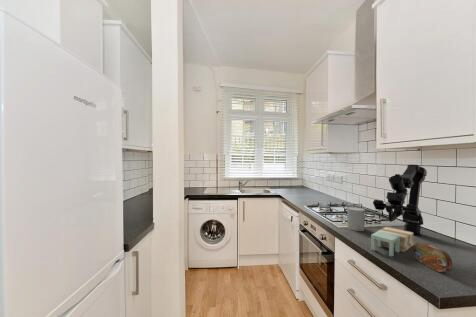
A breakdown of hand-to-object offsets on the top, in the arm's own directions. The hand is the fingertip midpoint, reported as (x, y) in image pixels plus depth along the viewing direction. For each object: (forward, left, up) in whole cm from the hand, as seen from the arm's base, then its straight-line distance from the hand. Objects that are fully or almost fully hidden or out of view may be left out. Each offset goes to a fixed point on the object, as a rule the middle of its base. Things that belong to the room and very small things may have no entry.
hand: (390, 221), depth 111 cm
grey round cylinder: (+6, -29, -13) cm, 33 cm away
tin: (-8, +18, -13) cm, 23 cm away
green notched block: (+1, +1, -9) cm, 10 cm away
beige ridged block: (-4, -5, -13) cm, 15 cm away
